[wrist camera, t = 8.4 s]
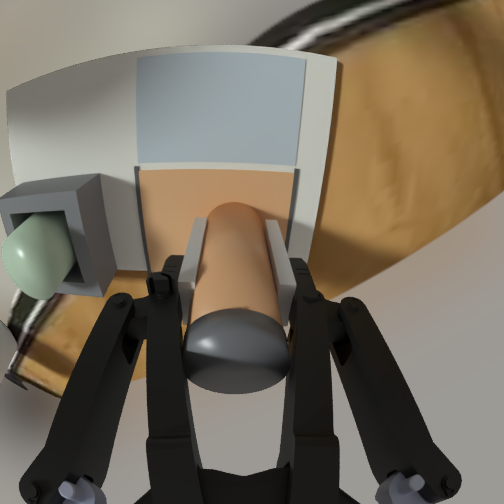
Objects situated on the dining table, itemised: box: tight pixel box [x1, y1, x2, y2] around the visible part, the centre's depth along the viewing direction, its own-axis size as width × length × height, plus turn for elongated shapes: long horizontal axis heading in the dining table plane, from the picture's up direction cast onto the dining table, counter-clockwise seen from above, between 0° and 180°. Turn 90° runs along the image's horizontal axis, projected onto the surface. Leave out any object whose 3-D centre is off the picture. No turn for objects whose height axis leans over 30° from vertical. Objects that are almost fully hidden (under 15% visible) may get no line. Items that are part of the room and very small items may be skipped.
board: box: [0, 45, 337, 297], centre depth 15 cm, size 16×24×4 cm
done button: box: [1, 210, 77, 300], centre depth 15 cm, size 5×5×4 cm
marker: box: [182, 202, 291, 394], centre depth 14 cm, size 4×4×11 cm
